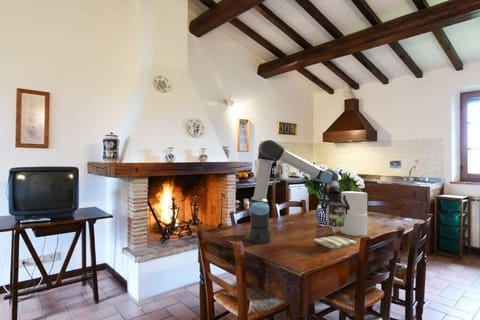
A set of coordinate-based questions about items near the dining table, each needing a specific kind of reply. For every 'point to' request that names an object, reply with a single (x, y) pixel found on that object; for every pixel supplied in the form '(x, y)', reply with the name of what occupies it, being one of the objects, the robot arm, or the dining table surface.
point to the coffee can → (335, 214)
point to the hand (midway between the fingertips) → (336, 218)
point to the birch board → (334, 241)
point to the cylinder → (355, 213)
